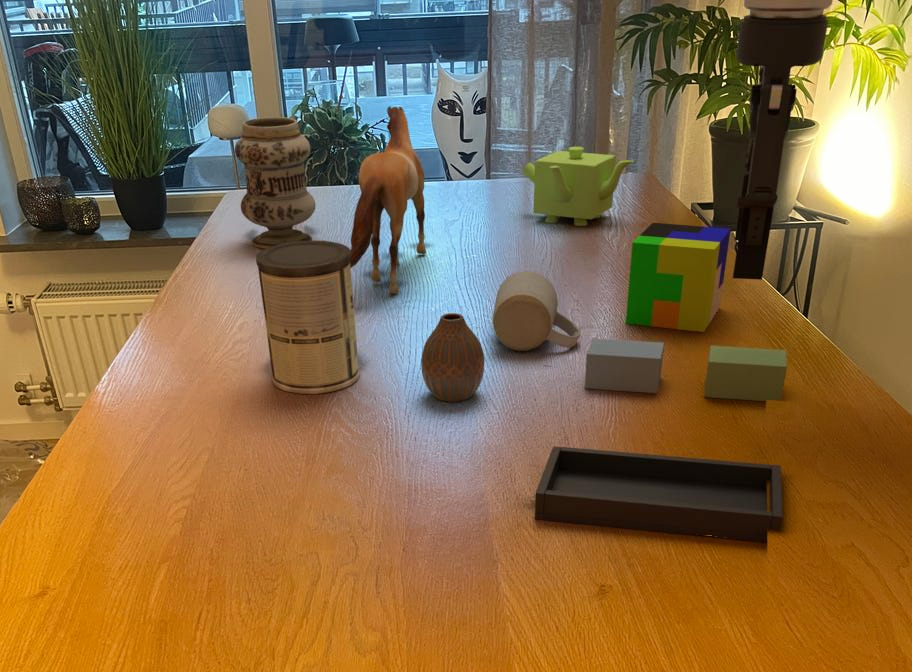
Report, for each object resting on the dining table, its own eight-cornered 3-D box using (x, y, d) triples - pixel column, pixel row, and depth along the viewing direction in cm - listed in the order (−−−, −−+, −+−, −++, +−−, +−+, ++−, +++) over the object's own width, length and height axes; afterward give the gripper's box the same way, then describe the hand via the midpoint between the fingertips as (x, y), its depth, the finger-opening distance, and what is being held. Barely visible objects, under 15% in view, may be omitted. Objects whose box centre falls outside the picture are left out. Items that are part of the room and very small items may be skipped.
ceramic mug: (490, 353, 121) (492, 289, 117) (495, 330, 128) (497, 269, 123) (578, 357, 120) (583, 292, 116) (579, 333, 127) (584, 271, 122)
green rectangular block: (779, 385, 111) (786, 349, 109) (780, 402, 107) (787, 366, 105) (705, 380, 113) (710, 345, 111) (703, 397, 109) (708, 361, 107)
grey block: (660, 376, 114) (664, 342, 112) (657, 393, 110) (660, 358, 108) (590, 372, 116) (592, 338, 114) (584, 388, 112) (586, 353, 110)
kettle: (629, 225, 168) (635, 152, 161) (550, 234, 165) (553, 160, 158) (593, 205, 180) (597, 136, 173) (519, 213, 177) (520, 143, 170)
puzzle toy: (719, 307, 133) (730, 228, 127) (703, 332, 125) (714, 249, 120) (645, 299, 136) (652, 222, 130) (625, 323, 129) (632, 242, 123)
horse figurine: (396, 246, 162) (389, 102, 150) (443, 247, 160) (439, 102, 148) (337, 307, 137) (323, 142, 125) (392, 310, 136) (383, 143, 124)
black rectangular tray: (775, 491, 92) (781, 465, 90) (777, 544, 84) (782, 516, 83) (552, 470, 96) (553, 445, 95) (534, 519, 89) (535, 493, 87)
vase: (493, 387, 113) (494, 310, 108) (470, 411, 108) (469, 330, 103) (437, 379, 115) (435, 303, 110) (412, 402, 110) (408, 323, 105)
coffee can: (259, 372, 119) (242, 249, 111) (339, 355, 123) (329, 235, 114) (290, 401, 111) (274, 272, 103) (374, 383, 115) (365, 256, 107)
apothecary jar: (300, 254, 159) (287, 129, 149) (232, 250, 162) (215, 126, 152) (330, 234, 168) (320, 115, 158) (265, 230, 172) (251, 113, 161)
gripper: (743, 1, 100) (713, 225, 112) (740, 27, 81) (705, 294, 93) (822, 0, 98) (783, 227, 111) (839, 26, 79) (789, 298, 91)
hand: (747, 258), depth 102 cm, fingers open, 13 cm apart
